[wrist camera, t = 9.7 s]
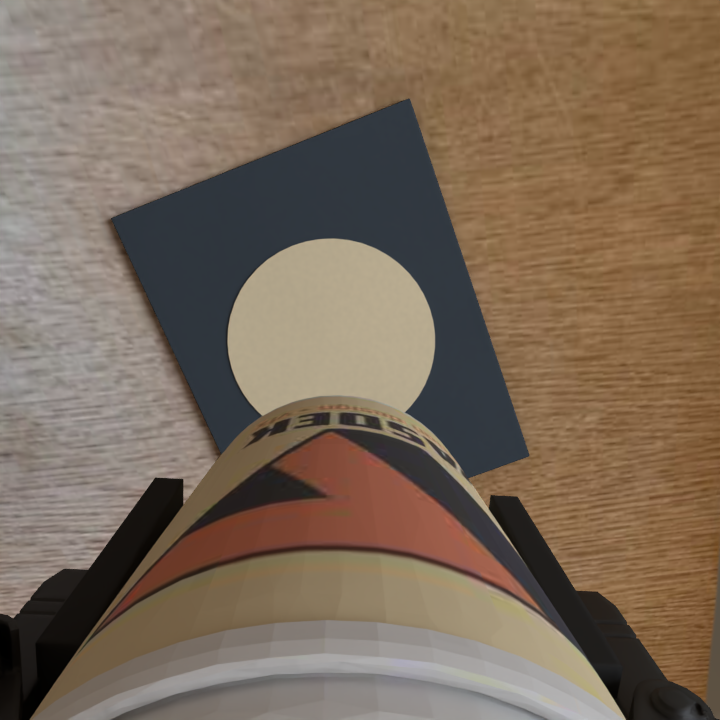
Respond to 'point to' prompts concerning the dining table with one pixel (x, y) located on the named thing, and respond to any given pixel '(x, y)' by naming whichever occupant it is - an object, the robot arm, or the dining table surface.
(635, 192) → the dining table surface
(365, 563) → the coffee cup
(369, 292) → the place mat
